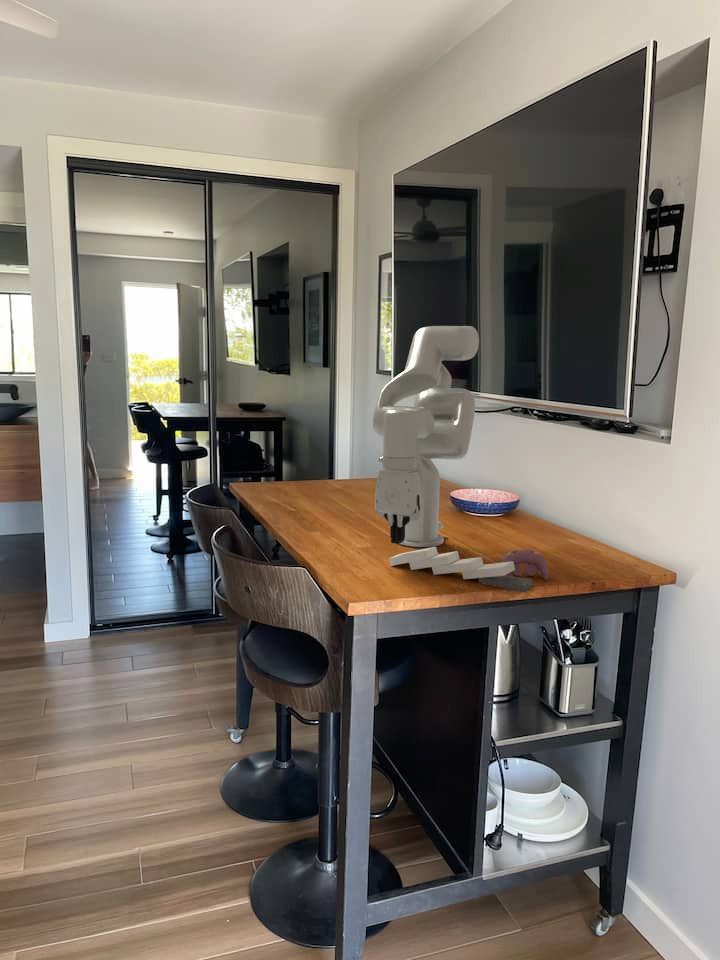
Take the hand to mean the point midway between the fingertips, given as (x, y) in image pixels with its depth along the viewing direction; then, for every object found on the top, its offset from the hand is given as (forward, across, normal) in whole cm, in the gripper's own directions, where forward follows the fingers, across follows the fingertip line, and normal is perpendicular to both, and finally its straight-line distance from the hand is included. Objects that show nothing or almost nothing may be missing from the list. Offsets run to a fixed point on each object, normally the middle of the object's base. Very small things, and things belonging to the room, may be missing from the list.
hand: (397, 542), depth 166 cm
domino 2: (+4, +5, 0) cm, 7 cm away
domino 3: (+4, +11, 0) cm, 12 cm away
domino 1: (+4, 0, 0) cm, 4 cm away
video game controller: (+5, +28, +8) cm, 29 cm away
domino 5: (+5, +22, 0) cm, 22 cm away
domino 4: (+4, +18, 0) cm, 19 cm away
